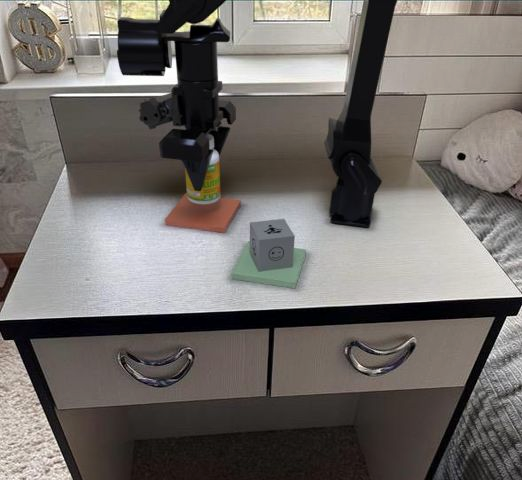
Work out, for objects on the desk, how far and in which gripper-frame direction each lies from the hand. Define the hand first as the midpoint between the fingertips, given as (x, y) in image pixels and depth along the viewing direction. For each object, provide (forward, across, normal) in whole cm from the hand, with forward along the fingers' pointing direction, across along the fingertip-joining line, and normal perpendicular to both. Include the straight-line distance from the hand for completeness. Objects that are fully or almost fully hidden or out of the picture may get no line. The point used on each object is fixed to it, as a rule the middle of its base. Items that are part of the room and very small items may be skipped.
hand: (203, 183), depth 83 cm
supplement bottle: (+3, 0, 0) cm, 3 cm away
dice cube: (+5, +12, +14) cm, 19 cm away
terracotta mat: (+6, 0, 0) cm, 6 cm away
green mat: (+6, +13, +14) cm, 20 cm away
